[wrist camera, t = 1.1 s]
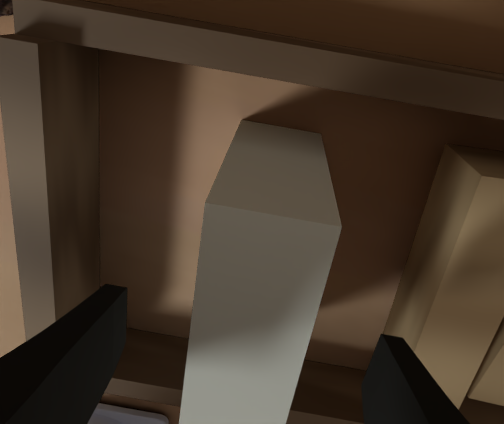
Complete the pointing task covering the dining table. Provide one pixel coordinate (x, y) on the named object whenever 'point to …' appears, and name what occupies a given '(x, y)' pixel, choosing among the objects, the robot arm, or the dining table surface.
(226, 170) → the grey sheet
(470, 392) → the offcut block small
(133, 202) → the dining table surface
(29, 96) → the rack
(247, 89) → the dining table surface
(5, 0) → the wooden tablet
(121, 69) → the dining table surface
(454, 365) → the offcut block large
